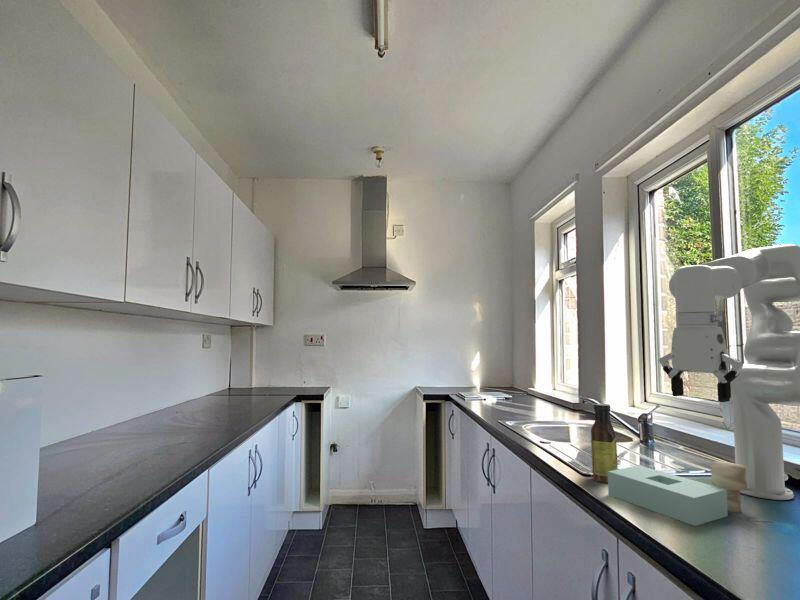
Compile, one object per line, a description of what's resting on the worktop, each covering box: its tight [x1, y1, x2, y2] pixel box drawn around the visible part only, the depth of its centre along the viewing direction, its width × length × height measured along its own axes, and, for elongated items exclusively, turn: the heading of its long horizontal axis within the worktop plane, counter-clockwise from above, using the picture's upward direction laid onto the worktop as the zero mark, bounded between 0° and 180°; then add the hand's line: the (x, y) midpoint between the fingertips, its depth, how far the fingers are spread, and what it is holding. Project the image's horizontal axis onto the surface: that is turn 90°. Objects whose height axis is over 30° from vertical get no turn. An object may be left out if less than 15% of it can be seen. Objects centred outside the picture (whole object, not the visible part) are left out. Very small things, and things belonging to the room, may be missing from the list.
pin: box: [710, 460, 747, 513], centre depth 101 cm, size 6×6×10 cm
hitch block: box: [607, 465, 729, 527], centre depth 103 cm, size 12×20×6 cm, turn 28°
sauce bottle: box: [590, 403, 619, 484], centre depth 121 cm, size 6×6×20 cm
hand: (700, 398), depth 100 cm, fingers open, 9 cm apart
